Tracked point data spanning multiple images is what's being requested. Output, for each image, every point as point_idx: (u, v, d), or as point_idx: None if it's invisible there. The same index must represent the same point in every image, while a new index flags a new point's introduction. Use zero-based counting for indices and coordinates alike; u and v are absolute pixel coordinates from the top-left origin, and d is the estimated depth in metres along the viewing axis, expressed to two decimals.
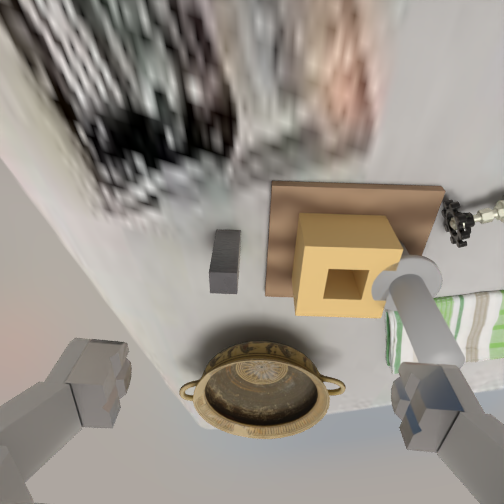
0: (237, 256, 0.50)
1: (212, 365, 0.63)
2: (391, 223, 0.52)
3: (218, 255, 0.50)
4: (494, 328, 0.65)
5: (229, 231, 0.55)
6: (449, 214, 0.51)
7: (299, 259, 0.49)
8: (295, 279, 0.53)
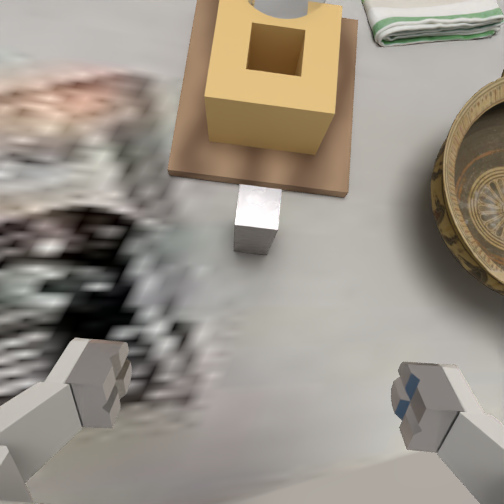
0: None
1: (483, 272, 0.34)
2: None
3: None
4: None
5: None
6: None
7: (247, 119, 0.36)
8: (292, 132, 0.37)
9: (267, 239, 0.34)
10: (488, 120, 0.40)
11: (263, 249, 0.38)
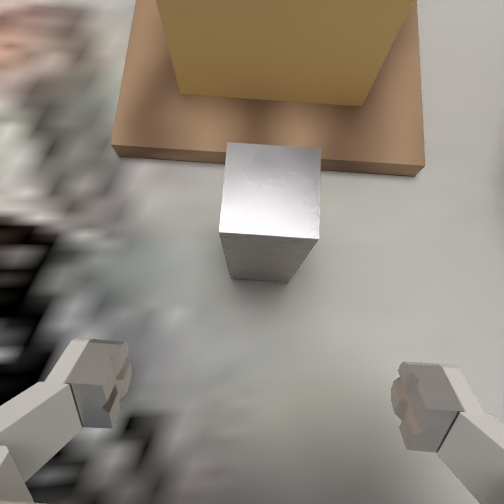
0: None
1: None
2: None
3: None
4: None
5: None
6: None
7: (241, 32, 0.19)
8: (325, 57, 0.20)
9: (293, 258, 0.17)
10: None
11: (283, 275, 0.21)
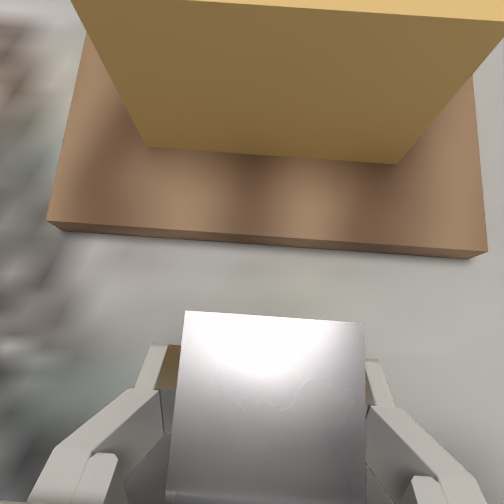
0: None
1: None
2: None
3: None
4: None
5: None
6: None
7: (225, 74, 0.12)
8: (352, 107, 0.14)
9: None
10: None
11: None
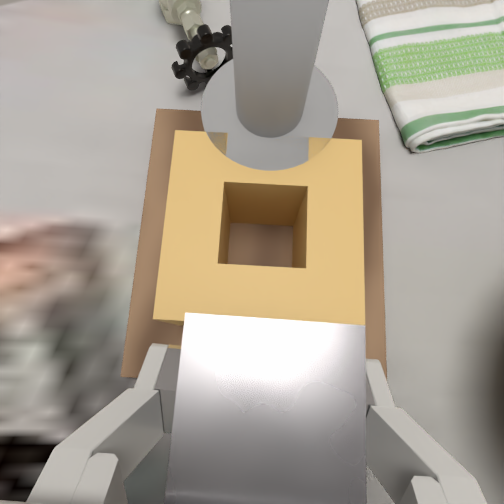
0: None
1: None
2: None
3: None
4: None
5: None
6: (205, 75, 0.34)
7: None
8: None
9: None
10: None
11: None
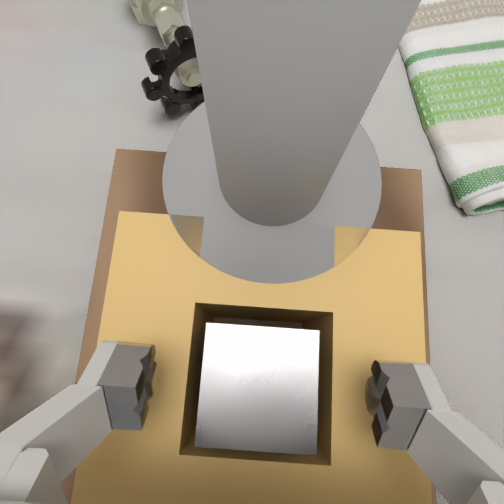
0: None
1: None
2: None
3: None
4: None
5: None
6: (189, 94, 0.25)
7: None
8: None
9: None
10: None
11: None
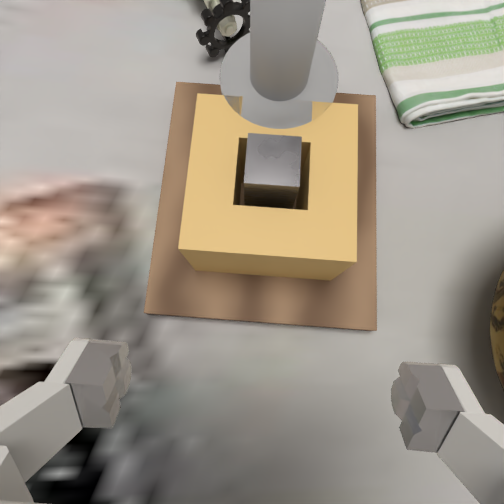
0: None
1: None
2: None
3: None
4: None
5: None
6: (224, 42, 0.38)
7: (240, 261, 0.27)
8: (300, 269, 0.28)
9: (286, 205, 0.27)
10: None
11: None
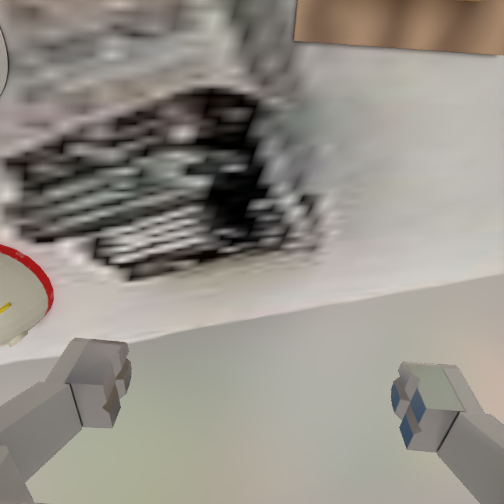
0: None
1: None
2: None
3: None
4: None
5: None
6: None
7: None
8: None
9: None
10: None
11: None
